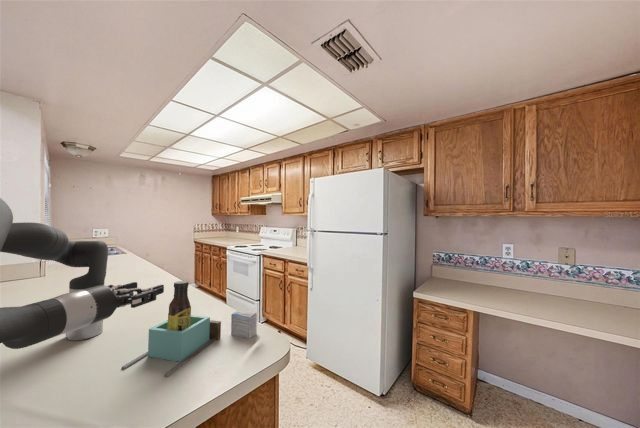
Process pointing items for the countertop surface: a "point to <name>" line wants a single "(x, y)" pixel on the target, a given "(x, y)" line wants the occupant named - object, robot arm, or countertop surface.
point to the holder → (178, 339)
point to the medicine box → (244, 323)
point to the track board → (213, 335)
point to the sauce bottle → (179, 308)
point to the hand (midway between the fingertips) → (149, 287)
